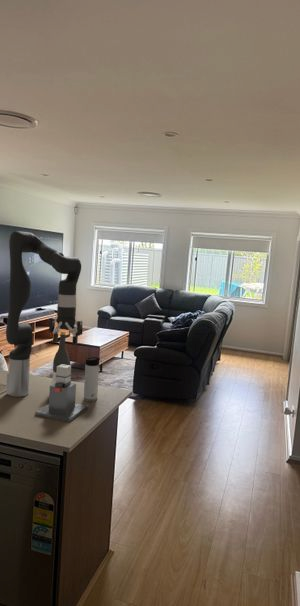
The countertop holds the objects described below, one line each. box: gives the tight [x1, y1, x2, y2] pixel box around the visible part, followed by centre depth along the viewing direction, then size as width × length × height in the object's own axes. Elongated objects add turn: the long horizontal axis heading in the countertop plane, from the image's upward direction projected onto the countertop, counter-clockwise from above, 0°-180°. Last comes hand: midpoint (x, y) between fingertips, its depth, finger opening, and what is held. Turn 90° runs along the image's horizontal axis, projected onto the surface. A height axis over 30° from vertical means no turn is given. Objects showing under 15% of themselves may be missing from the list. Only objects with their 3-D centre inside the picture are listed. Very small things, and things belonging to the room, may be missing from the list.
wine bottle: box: [51, 330, 71, 385], centre depth 199 cm, size 8×8×30 cm
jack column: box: [56, 364, 72, 387], centre depth 174 cm, size 5×5×18 cm
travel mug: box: [83, 356, 101, 402], centre depth 192 cm, size 6×7×20 cm
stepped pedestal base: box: [34, 382, 88, 423], centre depth 175 cm, size 16×16×13 cm
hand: (65, 343), depth 172 cm, fingers open, 8 cm apart
